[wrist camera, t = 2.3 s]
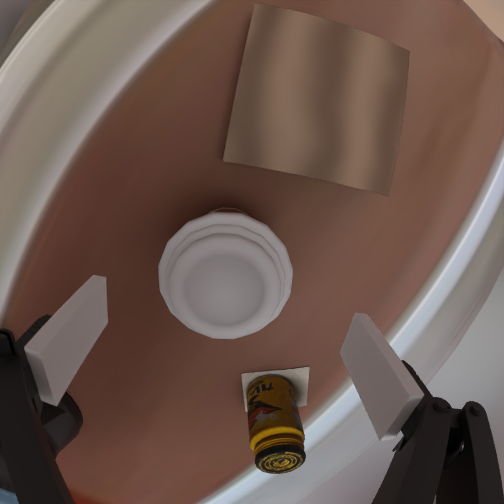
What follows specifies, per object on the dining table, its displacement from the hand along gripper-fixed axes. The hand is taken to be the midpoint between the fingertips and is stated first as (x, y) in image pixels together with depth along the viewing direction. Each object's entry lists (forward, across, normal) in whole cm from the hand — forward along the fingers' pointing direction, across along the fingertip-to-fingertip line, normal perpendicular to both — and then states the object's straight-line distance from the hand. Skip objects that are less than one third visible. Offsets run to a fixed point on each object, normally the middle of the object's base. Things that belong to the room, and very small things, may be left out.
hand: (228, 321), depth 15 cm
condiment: (+16, +9, -19) cm, 26 cm away
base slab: (+16, +6, +15) cm, 22 cm away
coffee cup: (+16, 0, 0) cm, 16 cm away
